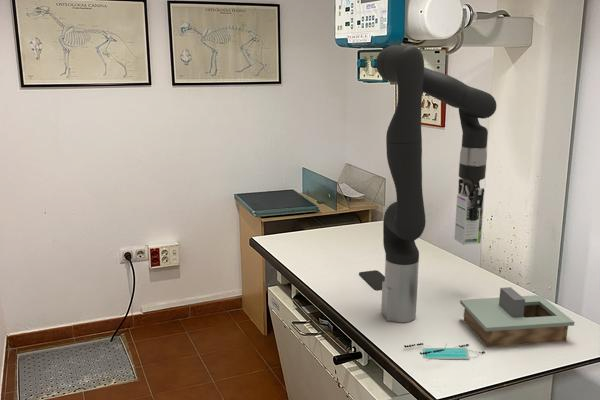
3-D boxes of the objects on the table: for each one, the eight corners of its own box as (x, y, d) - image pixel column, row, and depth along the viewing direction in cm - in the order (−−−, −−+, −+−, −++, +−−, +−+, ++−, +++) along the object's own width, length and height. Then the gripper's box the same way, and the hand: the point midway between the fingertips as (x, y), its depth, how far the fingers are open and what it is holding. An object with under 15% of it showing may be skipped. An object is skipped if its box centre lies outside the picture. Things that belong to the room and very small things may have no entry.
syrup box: (463, 245, 176) (467, 197, 172) (453, 238, 182) (457, 192, 178) (480, 243, 177) (484, 196, 174) (470, 237, 183) (474, 191, 179)
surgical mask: (417, 355, 142) (398, 336, 151) (416, 371, 143) (398, 351, 152) (491, 342, 148) (469, 324, 157) (490, 358, 149) (468, 339, 158)
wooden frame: (486, 346, 153) (488, 329, 152) (463, 320, 168) (464, 304, 166) (566, 341, 156) (568, 323, 155) (536, 315, 171) (538, 299, 169)
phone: (375, 289, 188) (357, 272, 202) (375, 292, 188) (357, 274, 202) (396, 287, 190) (377, 269, 204) (396, 289, 190) (377, 272, 204)
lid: (486, 331, 151) (487, 309, 149) (460, 303, 167) (461, 283, 166) (574, 325, 154) (576, 304, 152) (540, 298, 170) (542, 278, 169)
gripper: (451, 157, 180) (448, 210, 184) (469, 167, 166) (465, 224, 170) (475, 157, 180) (471, 210, 185) (495, 166, 167) (490, 223, 171)
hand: (468, 216), depth 177 cm, fingers closed on syrup box, 6 cm apart
